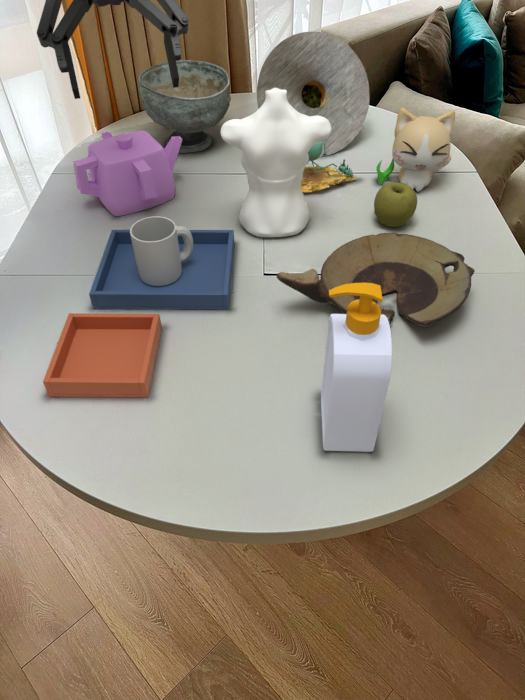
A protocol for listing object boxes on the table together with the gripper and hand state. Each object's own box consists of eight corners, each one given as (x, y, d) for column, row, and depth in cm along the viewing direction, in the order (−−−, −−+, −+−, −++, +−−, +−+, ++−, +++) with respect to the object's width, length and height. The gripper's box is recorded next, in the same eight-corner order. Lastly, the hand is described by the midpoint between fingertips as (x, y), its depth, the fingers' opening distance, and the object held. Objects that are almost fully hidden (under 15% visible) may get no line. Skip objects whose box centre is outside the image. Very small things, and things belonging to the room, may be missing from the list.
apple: (379, 236, 103) (385, 202, 97) (365, 213, 108) (370, 179, 103) (418, 231, 104) (426, 197, 98) (402, 208, 109) (409, 174, 104)
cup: (132, 269, 95) (123, 224, 89) (186, 251, 99) (181, 207, 92) (148, 293, 91) (139, 247, 85) (204, 273, 95) (200, 228, 88)
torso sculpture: (318, 208, 109) (328, 73, 91) (326, 237, 102) (338, 98, 84) (225, 213, 108) (216, 77, 90) (227, 242, 102) (218, 103, 84)
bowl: (214, 170, 120) (209, 98, 109) (133, 156, 124) (121, 86, 114) (246, 130, 133) (244, 63, 122) (171, 119, 137) (163, 54, 127)
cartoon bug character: (357, 198, 112) (357, 126, 101) (268, 202, 115) (259, 132, 104) (358, 174, 118) (358, 103, 108) (273, 178, 121) (265, 109, 111)
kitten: (374, 194, 113) (385, 120, 102) (374, 169, 120) (384, 98, 109) (450, 199, 111) (470, 124, 100) (446, 174, 118) (463, 101, 107)
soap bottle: (314, 396, 77) (327, 260, 60) (366, 397, 76) (393, 261, 60) (317, 452, 70) (331, 317, 54) (373, 453, 70) (405, 318, 54)
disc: (364, 158, 138) (342, 55, 135) (385, 137, 120) (360, 18, 118) (265, 181, 136) (241, 77, 134) (272, 163, 119) (244, 44, 116)
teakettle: (78, 213, 109) (61, 153, 100) (112, 170, 120) (99, 113, 111) (162, 223, 106) (152, 162, 97) (188, 178, 118) (182, 120, 109)
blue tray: (93, 308, 89) (88, 294, 87) (115, 243, 102) (111, 229, 99) (228, 309, 89) (227, 294, 87) (234, 244, 101) (233, 229, 99)
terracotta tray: (49, 396, 77) (42, 382, 75) (73, 328, 86) (68, 313, 84) (147, 397, 77) (144, 382, 75) (162, 328, 86) (159, 313, 84)
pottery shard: (474, 354, 82) (489, 315, 76) (271, 332, 85) (271, 293, 80) (462, 261, 97) (473, 223, 92) (289, 246, 101) (291, 208, 95)
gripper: (183, -54, 82) (213, 90, 83) (5, -42, 78) (38, 111, 78) (186, -94, 75) (219, 64, 76) (-10, -83, 70) (26, 86, 71)
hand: (127, 88), depth 77 cm, fingers open, 13 cm apart
